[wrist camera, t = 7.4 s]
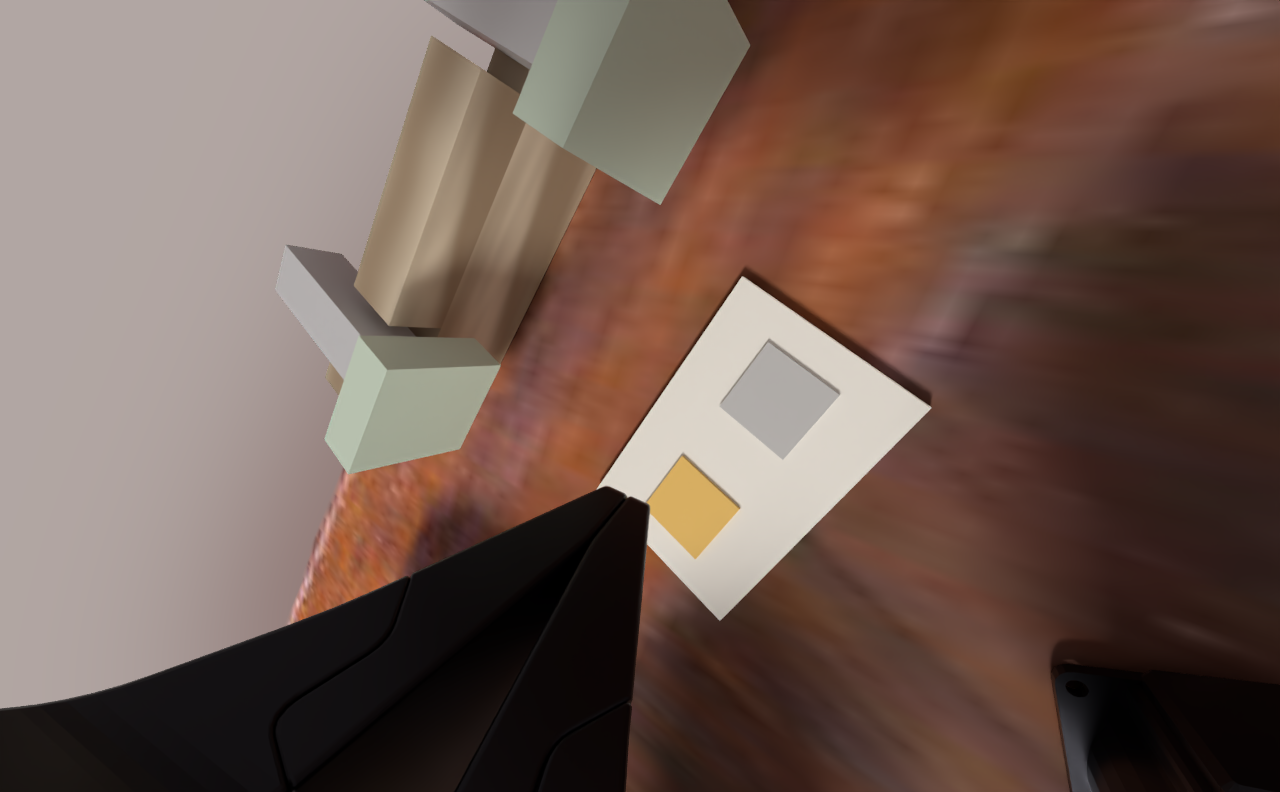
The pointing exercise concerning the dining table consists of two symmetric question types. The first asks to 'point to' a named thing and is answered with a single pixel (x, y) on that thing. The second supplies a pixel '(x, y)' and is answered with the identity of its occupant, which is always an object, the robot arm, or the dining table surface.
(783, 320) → the card
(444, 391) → the button
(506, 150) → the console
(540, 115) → the button
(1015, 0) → the dining table surface
